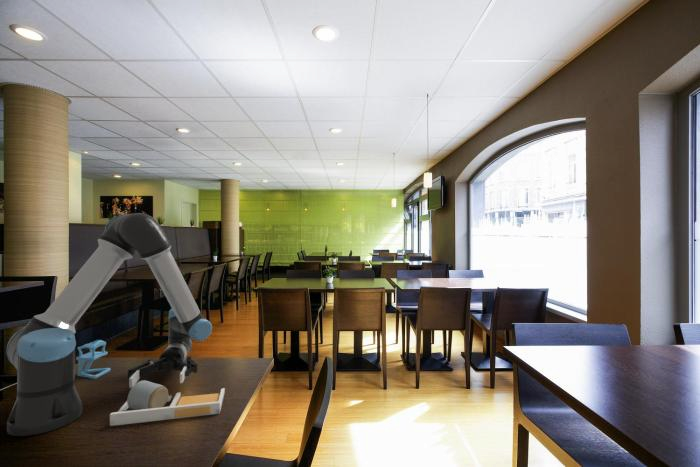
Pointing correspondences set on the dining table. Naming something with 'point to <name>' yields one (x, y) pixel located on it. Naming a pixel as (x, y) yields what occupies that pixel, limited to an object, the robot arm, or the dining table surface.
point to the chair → (91, 359)
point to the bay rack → (171, 409)
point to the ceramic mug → (147, 396)
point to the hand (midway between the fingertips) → (156, 380)
